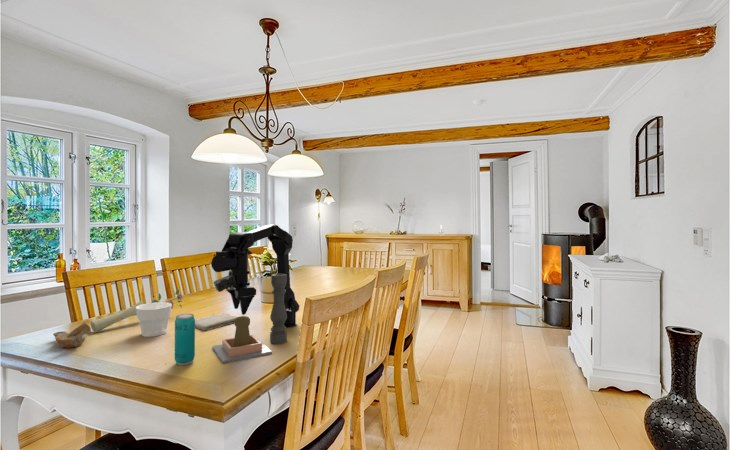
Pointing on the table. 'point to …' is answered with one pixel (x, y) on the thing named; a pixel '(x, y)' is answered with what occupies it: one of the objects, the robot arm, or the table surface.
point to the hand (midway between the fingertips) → (239, 311)
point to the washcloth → (214, 321)
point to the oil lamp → (73, 336)
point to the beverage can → (184, 339)
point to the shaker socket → (240, 350)
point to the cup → (153, 318)
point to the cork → (242, 331)
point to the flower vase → (123, 315)
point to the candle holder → (278, 309)
